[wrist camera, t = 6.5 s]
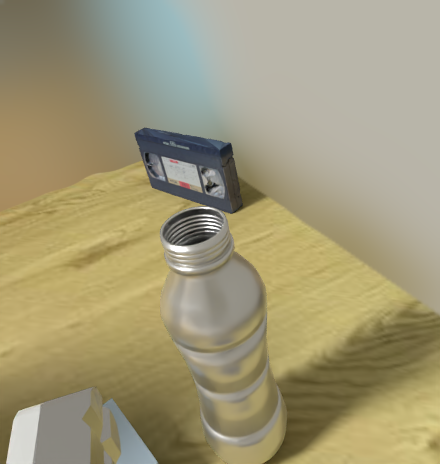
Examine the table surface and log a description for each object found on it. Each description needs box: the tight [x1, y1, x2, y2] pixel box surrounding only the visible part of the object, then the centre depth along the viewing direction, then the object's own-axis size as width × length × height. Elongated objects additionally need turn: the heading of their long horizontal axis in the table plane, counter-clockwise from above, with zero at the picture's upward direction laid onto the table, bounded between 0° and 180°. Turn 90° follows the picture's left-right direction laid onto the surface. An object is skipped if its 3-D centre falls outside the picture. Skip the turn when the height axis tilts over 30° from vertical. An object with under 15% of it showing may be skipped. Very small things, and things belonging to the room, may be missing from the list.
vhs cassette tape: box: [135, 128, 243, 214], centre depth 63 cm, size 18×3×10 cm, turn 47°
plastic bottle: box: [160, 206, 287, 464], centre depth 27 cm, size 6×7×20 cm
